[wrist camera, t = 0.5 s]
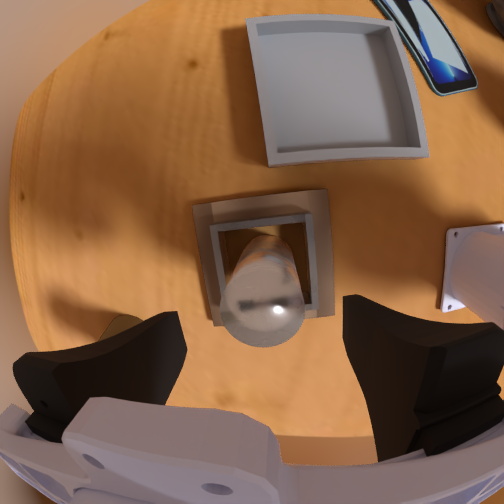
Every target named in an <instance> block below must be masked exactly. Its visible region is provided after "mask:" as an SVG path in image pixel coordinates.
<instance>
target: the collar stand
mask: <svg viewBox="0 0 504 504" xmlns="http://www.w3.org/2000/svg"><path fill="white" fill-rule="evenodd" d="M192 210H193V216H194V223H195V229H196V235H197V241H198V247H199V252H200V258H201V264H202V269H203V275H204V280H205V285H206V290H207V295H208V300H209V305H210V310H211V315H212V320H213V324H214V326H224V324H223V322H222V319H221V315H220V302H221V298H222V295H223V293H224V291H225V289H226V287H227V284H228V282H229V280H230V278H231V272H230V265H229V259H228V253H227V246H226V240H225V233H224V231H229V230H237V229H245V228H254V227H262V226H271V225H280V224H289V223H298V222H303V231H304V242H305V253H306V265H307V279H308V292H305V293H302V295H303V299H304V304H305V316H304V319H310V318H318V317H326V316H333V315H335V295H334V267H333V249H332V234H331V221H330V210H329V200H328V190H327V189H318V190H307V191H297V192H288V193H279V194H270V195H262V196H254V197H246V198H238V199H231V200H224V201H217V202H210V203H204V204H197V205H192Z"/></svg>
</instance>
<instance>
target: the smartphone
mask: <svg viewBox="0 0 504 504" xmlns="http://www.w3.org/2000/svg"><path fill="white" fill-rule="evenodd" d="M373 1H374V2H375V3H376V5H377V6H378V7H379V8H380V10H381V11H382V12H383V13H384V15H385V16H386V17H387V19H388V20H390V21H394V23H395V25H396V28H397V30H398V33H399V35H400V37H401V38H402V40H403V41H404V43H405V44H406V46H407V47H408V49H409V50H410V52H411V54H412V55H413V57H414V59H415V60H416V62H417V64H418V65H419V67H420V69H421V71H422V72H423V74H424V76H425V78H426V80H427V82H428V84H429V85H430V87H431V89H432V90H433V92H434V93H435V94H437V95H438V96H446V95H451V94H455V93H459V92H464V91H469V90H474V89H476V88H477V87H478V81H477V78H476V76H475V74H474V72H473V70H472V68H471V66H470V64H469V62H468V61H467V59H466V57H465V55H464V53H463V52H462V50H461V48H460V46H459V45H458V43H457V41H456V40H455V38H454V36H453V35H452V33H451V32H450V30H449V29H448V27H447V26H446V24H445V23H444V21H443V20H442V18H441V17H440V16H439V14H438V13H437V11H436V10H435V9H434V7H433V6H432V5H431V3H430V2H429V1H428V0H373Z"/></svg>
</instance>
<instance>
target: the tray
mask: <svg viewBox="0 0 504 504" xmlns="http://www.w3.org/2000/svg"><path fill="white" fill-rule="evenodd" d="M245 20H246V26H247V31H248V37H249V42H250V48H251V54H252V60H253V66H254V72H255V78H256V84H257V90H258V97H259V103H260V110H261V116H262V123H263V130H264V137H265V144H266V151H267V158H268V165H269V168H272V167H280V166H290V165H300V164H311V163H324V162H339V161H357V160H390V159H420V158H428V157H429V149H428V142H427V136H426V130H425V125H424V119H423V114H422V110H421V105H420V101H419V97H418V93H417V89H416V85H415V81H414V77H413V74H412V71H411V67H410V64H409V61H408V58H407V55H406V52H405V49H404V46H403V43H402V41H401V38H400V35H399V33H398V30H397V28H396V25H395V23H394V21H390V20H383V19H377V18H369V17H360V16H349V15H333V14H291V15H274V16H263V17H254V18H247V19H245Z"/></svg>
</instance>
